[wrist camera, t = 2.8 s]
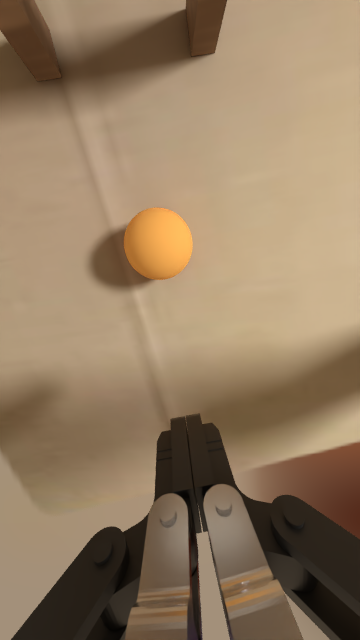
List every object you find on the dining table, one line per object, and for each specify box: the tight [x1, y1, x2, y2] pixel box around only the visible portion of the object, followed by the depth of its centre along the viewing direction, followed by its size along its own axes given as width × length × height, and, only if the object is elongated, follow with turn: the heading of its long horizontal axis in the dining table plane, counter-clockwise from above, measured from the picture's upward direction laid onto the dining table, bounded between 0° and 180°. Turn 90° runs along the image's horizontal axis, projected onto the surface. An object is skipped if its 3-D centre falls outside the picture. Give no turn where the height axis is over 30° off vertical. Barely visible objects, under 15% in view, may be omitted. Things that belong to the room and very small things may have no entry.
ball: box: [124, 208, 192, 280], centre depth 19 cm, size 6×6×6 cm
